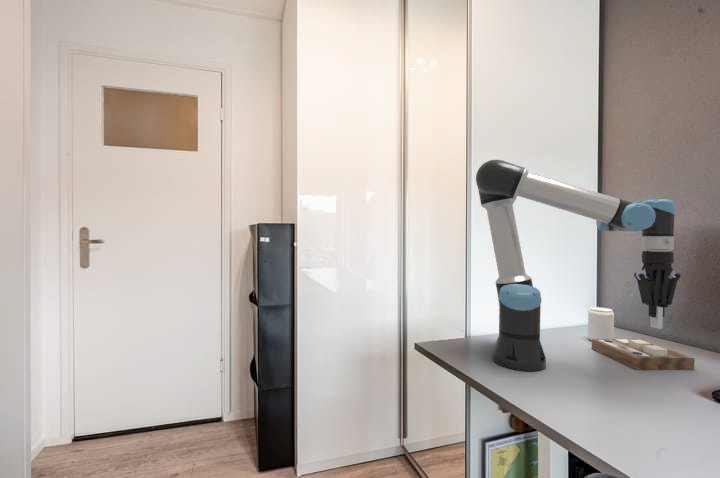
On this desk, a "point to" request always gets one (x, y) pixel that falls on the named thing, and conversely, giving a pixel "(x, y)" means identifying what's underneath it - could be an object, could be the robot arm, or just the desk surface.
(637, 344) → the button mid
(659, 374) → the desk surface
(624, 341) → the button left
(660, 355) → the button right
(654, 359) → the board
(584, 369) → the desk surface
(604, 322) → the white cylindrical container
